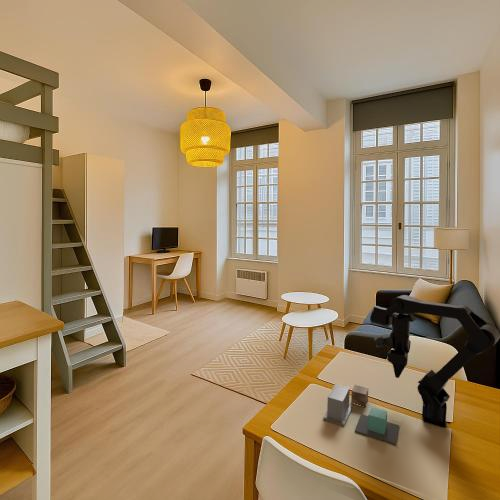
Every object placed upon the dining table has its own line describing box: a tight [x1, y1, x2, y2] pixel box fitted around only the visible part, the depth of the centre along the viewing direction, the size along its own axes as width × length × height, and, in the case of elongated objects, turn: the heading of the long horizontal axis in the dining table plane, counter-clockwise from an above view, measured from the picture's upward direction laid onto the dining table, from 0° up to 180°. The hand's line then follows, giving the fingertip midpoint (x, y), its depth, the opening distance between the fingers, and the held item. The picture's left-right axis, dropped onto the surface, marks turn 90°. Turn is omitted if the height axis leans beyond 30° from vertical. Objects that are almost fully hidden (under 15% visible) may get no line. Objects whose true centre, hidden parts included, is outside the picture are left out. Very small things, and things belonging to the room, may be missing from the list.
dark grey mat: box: [354, 413, 400, 446], centre depth 102 cm, size 12×10×1 cm
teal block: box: [367, 406, 388, 435], centre depth 102 cm, size 5×5×5 cm
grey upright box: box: [322, 383, 353, 427], centre depth 110 cm, size 7×12×8 cm, turn 150°
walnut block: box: [350, 384, 369, 408], centre depth 117 cm, size 5×5×5 cm
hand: (398, 372), depth 115 cm, fingers open, 9 cm apart
